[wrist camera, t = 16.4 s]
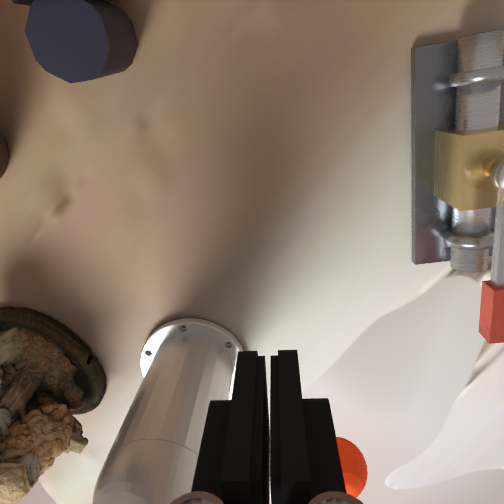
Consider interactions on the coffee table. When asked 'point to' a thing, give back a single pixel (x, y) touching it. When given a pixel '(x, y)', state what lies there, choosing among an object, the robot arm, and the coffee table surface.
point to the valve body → (456, 149)
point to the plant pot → (3, 156)
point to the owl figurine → (41, 396)
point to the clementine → (352, 467)
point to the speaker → (80, 38)
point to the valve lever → (495, 270)
